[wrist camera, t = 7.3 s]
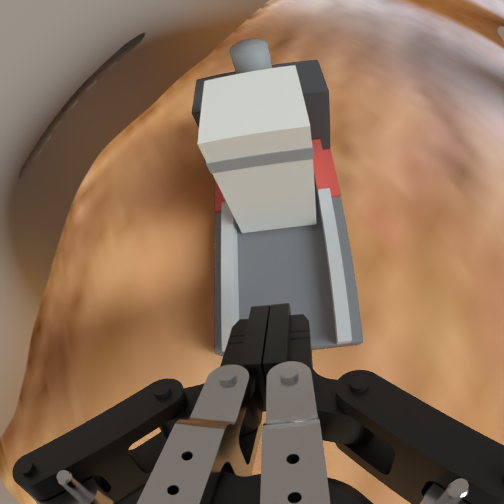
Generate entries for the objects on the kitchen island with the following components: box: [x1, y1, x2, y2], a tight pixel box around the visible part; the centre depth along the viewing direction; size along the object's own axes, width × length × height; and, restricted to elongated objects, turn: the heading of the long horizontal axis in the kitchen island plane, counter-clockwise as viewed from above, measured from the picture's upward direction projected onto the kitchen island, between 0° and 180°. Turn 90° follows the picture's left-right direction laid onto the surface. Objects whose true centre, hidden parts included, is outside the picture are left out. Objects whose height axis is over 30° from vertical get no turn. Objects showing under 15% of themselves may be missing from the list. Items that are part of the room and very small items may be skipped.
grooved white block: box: [197, 65, 316, 233], centre depth 18 cm, size 5×5×9 cm
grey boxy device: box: [192, 39, 363, 356], centre depth 19 cm, size 18×9×10 cm, turn 2°
